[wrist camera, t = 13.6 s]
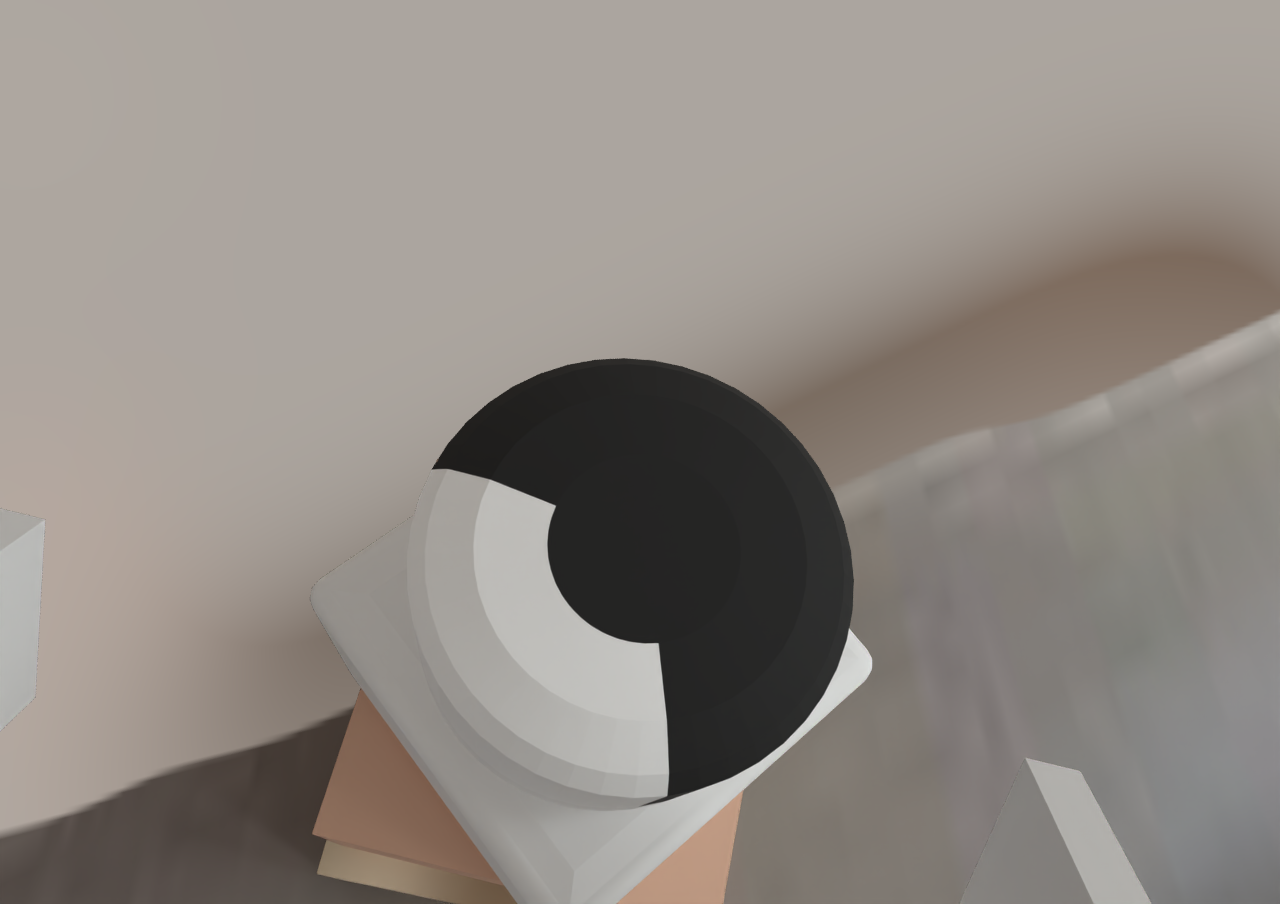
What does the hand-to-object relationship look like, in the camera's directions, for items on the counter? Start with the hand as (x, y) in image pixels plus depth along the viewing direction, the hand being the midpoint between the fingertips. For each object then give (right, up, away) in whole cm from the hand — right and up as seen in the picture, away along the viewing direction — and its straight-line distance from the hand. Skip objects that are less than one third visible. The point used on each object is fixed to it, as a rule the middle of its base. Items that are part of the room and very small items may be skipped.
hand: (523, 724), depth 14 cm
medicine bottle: (0, -2, +11) cm, 11 cm away
